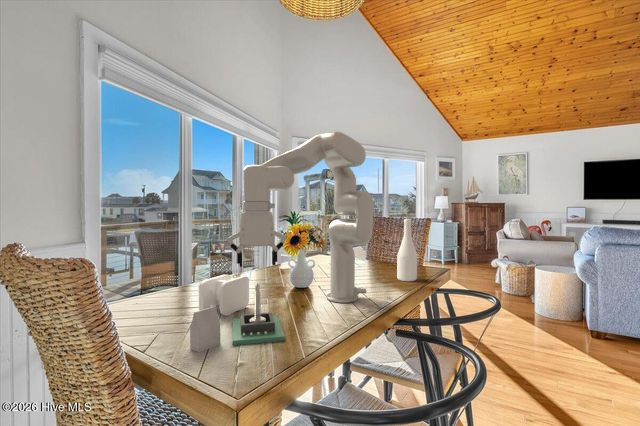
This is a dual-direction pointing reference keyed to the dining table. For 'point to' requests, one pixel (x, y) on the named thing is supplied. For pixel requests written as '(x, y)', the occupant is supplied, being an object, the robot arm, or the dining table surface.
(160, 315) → the dining table surface
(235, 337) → the board
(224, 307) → the cable organizer
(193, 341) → the tea bag
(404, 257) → the wine bottle
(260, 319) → the screw
